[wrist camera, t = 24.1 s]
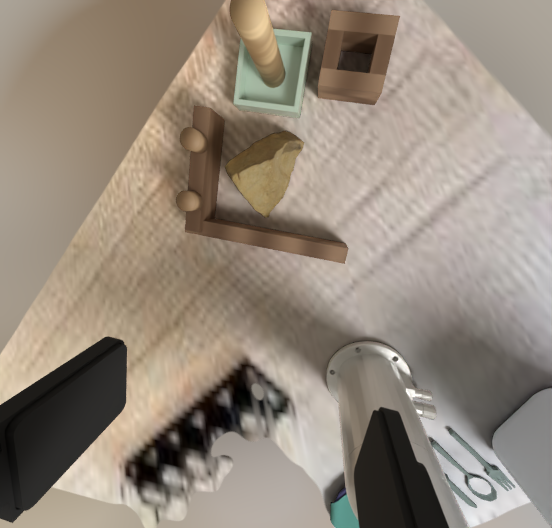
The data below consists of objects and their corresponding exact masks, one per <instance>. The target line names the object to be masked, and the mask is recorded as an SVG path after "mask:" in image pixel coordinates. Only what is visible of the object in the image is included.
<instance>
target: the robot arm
mask: <svg viewBox="0 0 552 528" xmlns="http://www.w3.org/2000/svg"><path fill="white" fill-rule="evenodd" d="M394 356H395V357H394ZM126 372H127V347H126V345H124V342H123V341H122V340H120V339H116V338H112V337H105V338H103V339H102V340H100V341H99V342H97V343H95V344H94V345H92V346H91V347H89V348H88V349H86V350H85V351H83V352H82V353H80V354H78V355H77V356H75V357H74V358H72V359H71V360H69V361H68V362H66V363H65V364H63V365H61V366H60V367H58V368H57V369H55V370H54V371H52V372H51V373H49V374H48V375H46V376H44V377H43V378H41V379H40V380H38V381H37V382H35V383H34V384H32V385H31V386H29V387H27V388H26V389H24V390H23V391H21V392H20V393H18V394H17V395H15V396H14V397H12V398H11V399H9V400H7V401H6V402H4V403H3V404H1V405H0V518H1V519H3V520H6V521H9V522H12V523H13V522H14V521H15V520H16V519H17V517H18V516H20V514H21V513H22V512H23V511H24V510H28V509H30V508H31V507H33V506H34V505H35V504H36V503H37V502H38V501H39V500H40V499H41V498H42V496H43V495H44V494H45V493H46V492H47V491H48V490H49V489H50V488H51V487H52V486H53V485H54V484H55V483H56V481H57V480H58V479H59V478H60V477H61V476H62V475H63V474H64V473H65V472H66V471H67V470H68V469H69V468H70V466H71V465H72V464H73V463H74V462H75V461H76V460H77V459H78V458H79V457H80V456H81V455H82V454H83V453H84V451H85V450H86V449H87V448H88V447H89V446H90V445H91V444H92V443H93V442H94V441H95V440H96V439H97V437H98V436H99V435H100V434H101V433H102V432H103V431H104V430H105V429H106V428H107V427H108V426H109V425H110V424H111V422H112V421H113V420H114V419H115V418H116V417H117V416H118V415H119V414H120V413H121V412H122V410H123V409H124V407H125V404H126ZM326 378H327V385H328V389H329V391H330V393H331V395H332V396H333V398H334V399H335V400H336V401H337V402H338V403H339V416H340V428H341V440H342V452H343V464H344V476H345V486H346V493H347V496H348V500H349V503H350V506H351V508H352V510H353V513H354V514H355V516H356V518H357V520H358V521H359V528H470V527H469V525H468V523H467V521H466V519H465V517H464V515H463V513H462V510H461V508H460V506H459V504H458V502H457V500H456V498H455V496H454V494H453V492H452V490H451V487H450V485H449V483H448V481H447V479H446V476H445V474H444V472H443V470H442V467H441V465H440V463H439V461H438V458H437V456H436V454H435V452H434V449H433V447H432V445H431V443H430V440H429V438H428V436H427V434H426V431H425V429H424V427H423V425H422V422H421V420H420V418H419V416H420V417H424V418H428V419H432V420H434V419H435V418H436V408H435V406H434V405H430V404H426V403H422V402H416V401H413V399H412V398H414V397H417V398H420V399H423V400H427V401H431V400H432V393H431V391H428V390H424V389H418V388H415V386H414V385H412V375H411V372H410V369H409V367H408V365H407V363H406V361H405V360H404V358H403V357H402V356H401V355H400V354H399V353H398V352H397V351H396V350H394V349H393V348H391V347H389V346H387V345H385V344H382V343H378V342H372V341H362V342H355V343H352V344H349V345H347V346H345V347H343V348H341V349H340V350H339V351H337V352H336V353H335V355H334V356H333V357H332V358H331V360H330V362H329V364H328V367H327V374H326ZM418 415H419V416H418Z"/></svg>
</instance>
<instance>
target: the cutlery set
mask: <svg viewBox="0 0 552 528" xmlns="http://www.w3.org/2000/svg"><path fill="white" fill-rule="evenodd" d="M448 431H449V433H450V435H451V436H453V437H454V438H455V439H456V440H457V441H458V442H459V443H460V444H461V445H462V446H463V447H465V448H466V449H467V450H468V451H469V452H470V453H471V454H472V455H473V456H474V457H475V458H476V459H477V460H478V461H479V462H480V463H481V464H482V465H483V466H484V467H485V468H486V471H485V472H486V474H487V475H488V476H489V477H491V478H492V479H493V480H495V481H496V482H497V483H499V484H500V485H501V486H502V487H503V488H505V489H506V490H507V491H509V490H508V489H507V488H506V487H505V486H504V485H503V483H504V484H505V485H507V486H508V487H509V488H510V489H512V488H511V487H510V486H509V485H508V484H507V482H508V483H510V484H511V485H512V486H513V487H514V488H515V486H514V485H513V484H512V482H511V481H510V480H509V479H508V478H507V477H506V476H505V475H504V474H503V473H502V471H501V470H500V469H499V468H498V467H497V466H491V465H490V464H489V463H487V462H486V461H485V460H484V459H483V458H482V457H481V456H480V455H479V454H478V453H477V452H476V451H475V450H474V449H472V448H471V447H470V446H469V445H468V444H467V443H466V442H465V441H464V440H463V439H462V438H461V437H460V436H459V435H458V434H457V433H456V432H454V431H453V430H452V429H450V430H448ZM431 445H432V447H434V448H435V449H436V450H437V451H438V452H439V453H440V454H441V455H443V456H444V457H445V458H446V459H447V460H448V461H449V462H451V463H452V464H453V465H454V466H455V467H457V468H458V469H459V470H460V471H461V472H463V473H464V474H465V475H466V476H467V477H468V487H469V489H470V490H471V491H472V493H473V494H474V495H476V496H477V497H479V498H481V499H483V500H487V501H493V500H495V499H497V494H496V490H495V489H494V488H493V486H492V485H491V484H490V483H489V482H488V481H486V480H485V479H483V478H482V477H477V476H473V475H470V474H468V473H467V472H466V471H465V470H464V469H463V468H462V467H461V466H460V465H459V464H458V463H457V462H456V461H455V460H454V459H453V458H452V457H451V456H450V455H449V454H447V453H446V452H445V451H444V450H443V449H442V448H441V447H440V445H439V444H438V443H436V442H435V440H434V441H433V442H431ZM445 476H446V479H447V481H448V483H449V485H450V487H451V489H452V490H453V491H454V492H455V493H456V494H457V495H458V496H459V497H460V498H461V499H462V500H464V501H465V502H466V503H467V504H468V505H470V506H472V507H475V508H477V506H476V504H475V503H474V502H473V501H471V500H470V499H469V498H468V497H467V496H466V495H465V494H464V493H463V492H462V491H461V490H460V489H459V488H458V487H457V486H456V485H454V484H453V483H452V482H451V481H450V480H449V478H448V476H447V475H446V474H445ZM473 477H475V478H480V479H483V480H485V481H486V482H488V483H489V485H490V486H491V493H490V494H488V495H483V494H480V493H477V492H476V491H474V490H473V489H472V488H471V486H470V485H469V479H471V478H473ZM504 479H505V480H506V481H507V482H506V481H505V480H504ZM501 481H502V482H503V483H502V482H501ZM330 520H331V522H332V524H333V525H334V527H335V528H359V521H358V520H357V518H356V516H355V514H354V513H353V510H352V508H351V506H350V503H349V500H348V496H347V493H346V487H345V488H344V489H343V490H341V491H340V492H339V494H338V496H337V498H336V500H335V502H334V503H332V502H331V514H330Z"/></svg>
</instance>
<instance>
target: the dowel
mask: <svg viewBox="0 0 552 528" xmlns="http://www.w3.org/2000/svg"><path fill="white" fill-rule="evenodd" d="M230 16H231V19H232V21H233V23H234V25H235V27H236V29H237V31H238V33H239V35H240V37H241V39H242V41H243V43H244V45H245V46H246V48H247V50H248V52H249V54H250V56H251V58H252V60H253V62H254V64H255V66H256V68H257V70H258V72H259V74H260V76H261V78H262V80H263V82H264V83H265V85H266V86H268V87H270V88H276V87H278V86H280V85H281V84H282V83H283V81H284V79H285V74H286V72H285V68H284V64H283V61H282V58H281V54H280V51H279V47H278V44H277V41H276V37H275V34H274V31H273V27H272V24H271V20H270V17H269V14H268V10H267V7H266V4H265V0H231V3H230Z"/></svg>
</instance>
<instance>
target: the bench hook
mask: <svg viewBox="0 0 552 528" xmlns="http://www.w3.org/2000/svg"><path fill="white" fill-rule="evenodd" d="M224 122H225V119H223V118H222V117H221V116H220V115H218V114H217V113H216V112H215V111H213V110H212V109H211V108H207V107H200V106H194V113H193V127H192V128H191V127H187V128H185V129H184V130H183V131H182V132H181V134H180V142H181V144H182V146H183V147H184V148H185V149H187V150H190V151H191V155H190V169H189V183H188V191H181V192H180V193H179V194H178V195H177V197H176V203H177V206H178V207H179V208H180V209H181V210H183V211H186V224H185V232H188V233H193V234H198V235H203V236H208V237H213V238H218V239H223V240H228V241H233V242H238V243H243V244H248V245H253V246H258V247H263V248H268V249H273V250H279V251H284V252H289V253H294V254H299V255H304V256H309V257H314V258H319V259H324V260H329V261H334V262H339V263H344V264H345V260H346V256H347V252H348V247H347V245H346V243H341V242H336V241H331V240H325V239H320V238H315V237H309V236H304V235H299V234H294V233H288V232H283V231H278V230H273V229H267V228H262V227H257V226H251V225H246V224H241V223H236V222H230V221H225V220H220V219H215V211H216V201H217V191H218V181H219V171H220V162H221V152H222V142H223V132H224Z"/></svg>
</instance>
